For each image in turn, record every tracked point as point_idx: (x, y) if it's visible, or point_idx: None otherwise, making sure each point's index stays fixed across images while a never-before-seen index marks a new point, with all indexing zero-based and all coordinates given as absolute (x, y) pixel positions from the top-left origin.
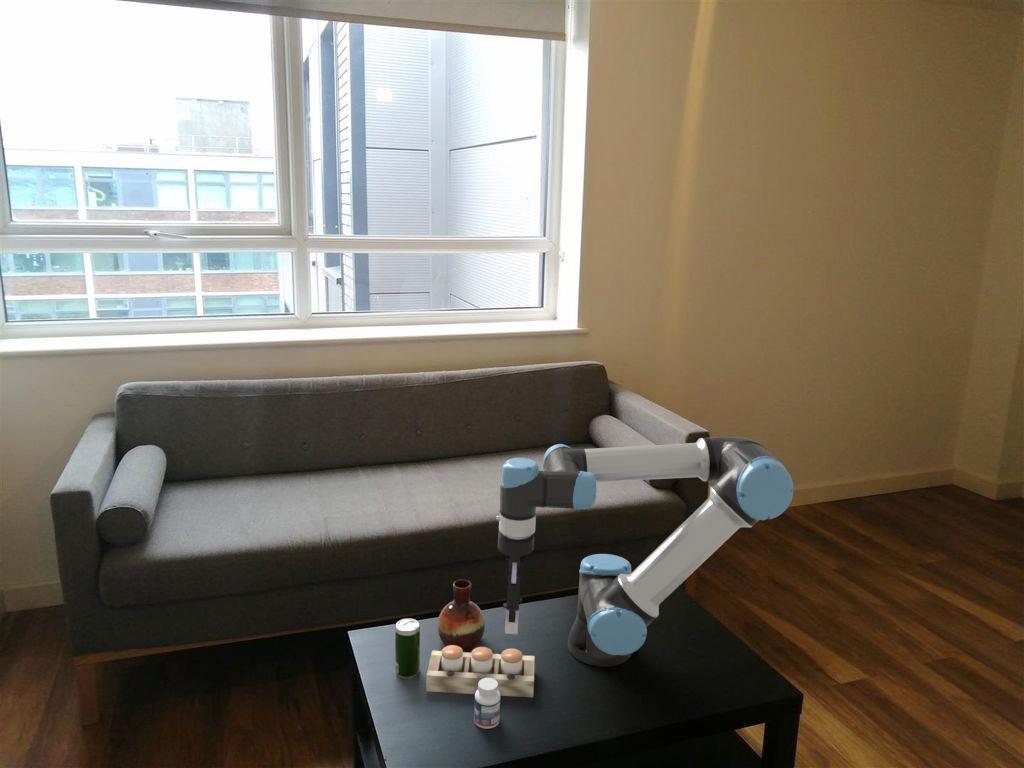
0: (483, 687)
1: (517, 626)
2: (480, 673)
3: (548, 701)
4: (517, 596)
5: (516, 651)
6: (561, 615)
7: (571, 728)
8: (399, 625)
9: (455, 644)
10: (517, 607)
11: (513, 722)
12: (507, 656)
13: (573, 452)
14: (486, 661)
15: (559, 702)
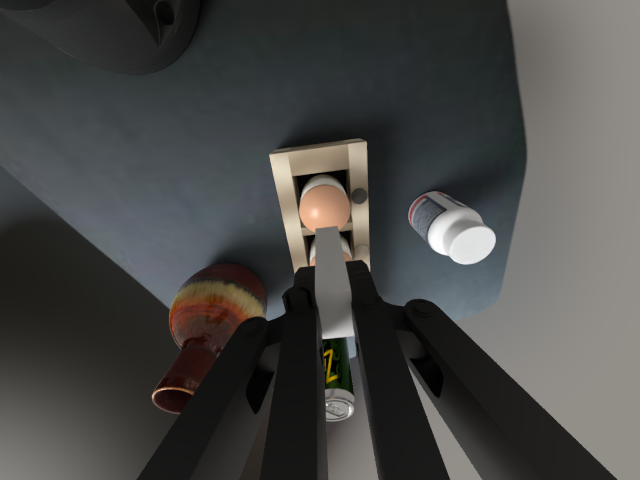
0: (485, 252)
1: (340, 240)
2: (358, 252)
3: (368, 101)
4: (553, 427)
5: (309, 202)
6: (24, 109)
7: (457, 28)
8: (338, 417)
9: (266, 299)
10: (450, 322)
11: (433, 166)
12: (333, 219)
13: None
14: (349, 255)
15: (368, 72)
